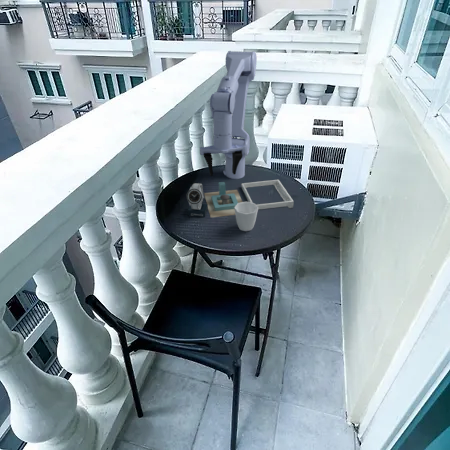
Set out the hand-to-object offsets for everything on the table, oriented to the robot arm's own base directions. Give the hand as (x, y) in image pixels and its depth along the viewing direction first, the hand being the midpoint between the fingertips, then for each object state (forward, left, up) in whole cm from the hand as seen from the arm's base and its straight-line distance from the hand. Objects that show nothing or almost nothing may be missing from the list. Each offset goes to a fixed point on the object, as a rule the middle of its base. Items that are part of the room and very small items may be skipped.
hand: (222, 174), depth 110 cm
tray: (+3, +15, -10) cm, 18 cm away
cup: (+18, +4, -10) cm, 21 cm away
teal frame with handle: (+5, 0, -9) cm, 10 cm away
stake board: (+4, 0, -10) cm, 11 cm away
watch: (+8, -10, -10) cm, 16 cm away
